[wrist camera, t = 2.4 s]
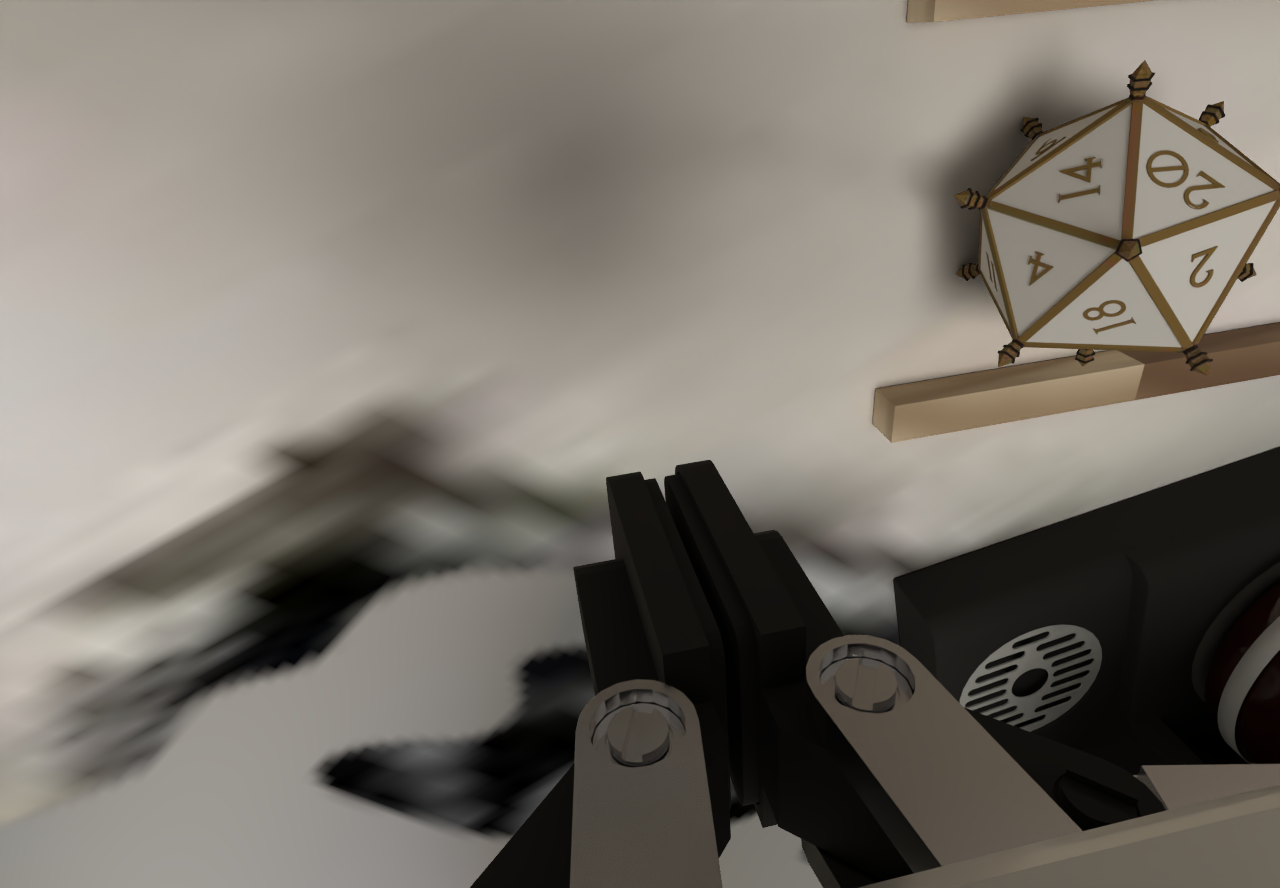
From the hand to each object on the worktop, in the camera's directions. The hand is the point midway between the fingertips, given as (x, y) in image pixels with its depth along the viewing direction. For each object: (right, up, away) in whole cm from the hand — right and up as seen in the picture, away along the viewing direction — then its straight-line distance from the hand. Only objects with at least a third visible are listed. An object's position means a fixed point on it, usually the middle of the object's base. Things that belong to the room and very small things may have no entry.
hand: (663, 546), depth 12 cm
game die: (+13, +10, +14) cm, 21 cm away
